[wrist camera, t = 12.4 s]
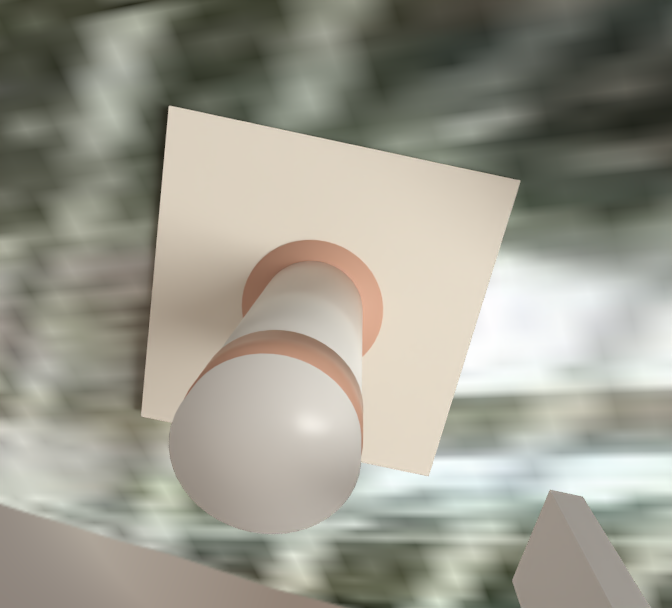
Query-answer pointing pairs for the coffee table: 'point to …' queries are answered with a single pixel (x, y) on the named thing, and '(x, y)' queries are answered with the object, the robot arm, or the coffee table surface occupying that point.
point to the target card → (329, 247)
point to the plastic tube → (278, 408)
